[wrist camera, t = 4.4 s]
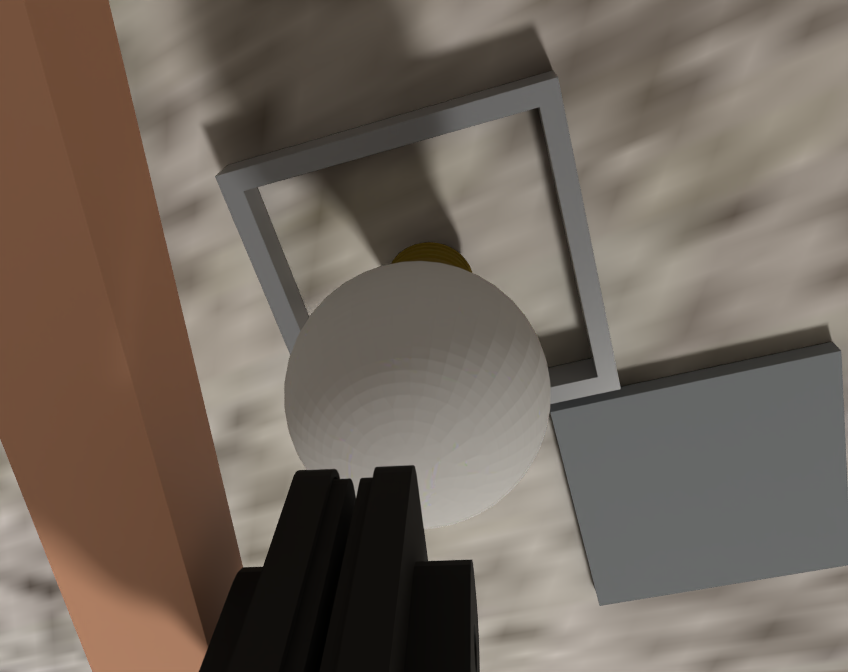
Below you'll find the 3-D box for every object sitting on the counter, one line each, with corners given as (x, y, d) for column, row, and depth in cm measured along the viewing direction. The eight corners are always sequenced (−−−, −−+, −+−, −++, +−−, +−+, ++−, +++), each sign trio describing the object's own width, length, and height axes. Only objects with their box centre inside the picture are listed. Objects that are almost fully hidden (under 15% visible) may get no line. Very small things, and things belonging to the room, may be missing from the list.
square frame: (553, 70, 20) (558, 77, 19) (614, 369, 24) (620, 389, 23) (227, 165, 22) (215, 176, 21) (336, 430, 26) (330, 450, 25)
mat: (832, 341, 23) (840, 350, 23) (843, 552, 27) (851, 564, 27) (548, 402, 25) (550, 412, 24) (597, 593, 29) (599, 605, 28)
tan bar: (-486, -954, 5) (-855, -1305, 3) (-11, -1044, 5) (-209, -1454, 3) (152, 764, 13) (116, 858, 11) (336, 765, 13) (320, 862, 11)
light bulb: (518, 165, 21) (554, 320, 12) (535, 346, 24) (574, 579, 15) (317, 192, 22) (216, 358, 13) (355, 365, 25) (293, 600, 16)
